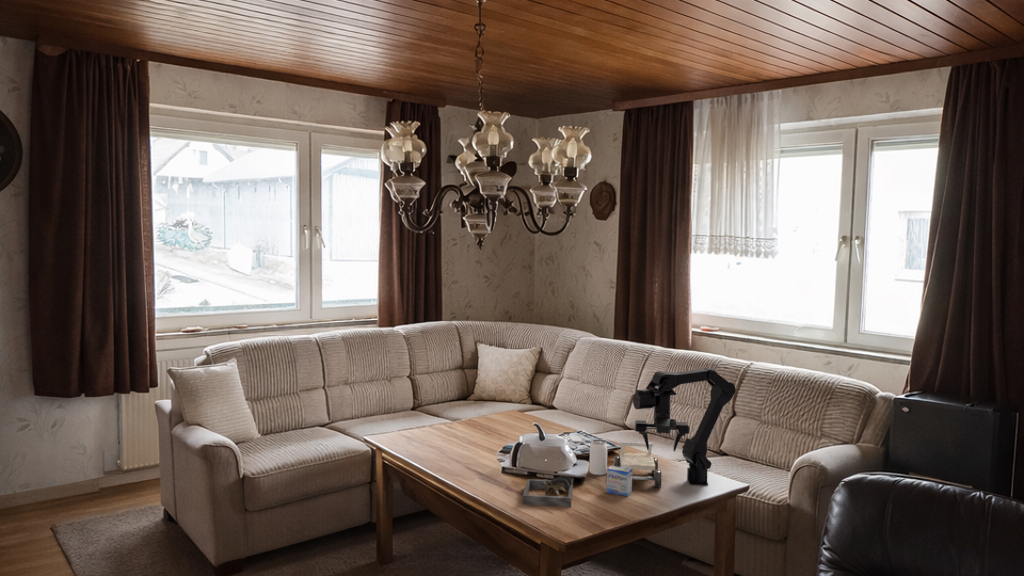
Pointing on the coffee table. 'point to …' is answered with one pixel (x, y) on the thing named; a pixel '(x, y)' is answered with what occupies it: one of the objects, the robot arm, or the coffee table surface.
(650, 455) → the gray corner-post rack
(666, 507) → the coffee table surface
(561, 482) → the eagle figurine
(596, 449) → the can
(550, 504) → the gray square tray
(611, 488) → the medicine box
